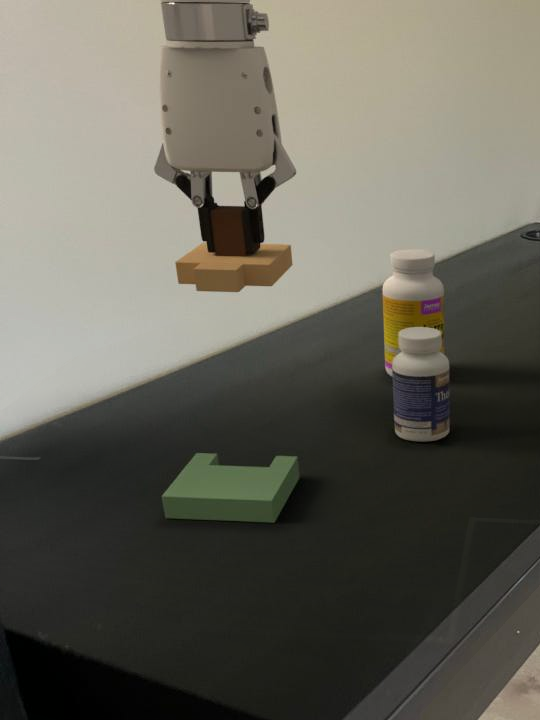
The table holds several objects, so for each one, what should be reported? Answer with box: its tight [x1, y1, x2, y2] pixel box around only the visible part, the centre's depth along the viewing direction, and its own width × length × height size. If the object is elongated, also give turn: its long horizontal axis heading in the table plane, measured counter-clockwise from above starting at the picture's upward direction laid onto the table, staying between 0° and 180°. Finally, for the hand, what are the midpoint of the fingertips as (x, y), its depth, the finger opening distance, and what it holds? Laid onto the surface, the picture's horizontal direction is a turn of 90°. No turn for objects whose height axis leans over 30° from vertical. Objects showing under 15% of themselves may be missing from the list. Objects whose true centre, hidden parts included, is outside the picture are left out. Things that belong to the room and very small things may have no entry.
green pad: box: [161, 452, 301, 524], centre depth 83 cm, size 9×9×2 cm
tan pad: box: [174, 205, 293, 293], centre depth 94 cm, size 9×12×6 cm
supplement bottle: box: [382, 248, 445, 377], centre depth 108 cm, size 7×7×13 cm
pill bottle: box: [391, 327, 451, 443], centre depth 93 cm, size 5×5×10 cm
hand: (234, 248), depth 96 cm, fingers closed on tan pad, 3 cm apart
